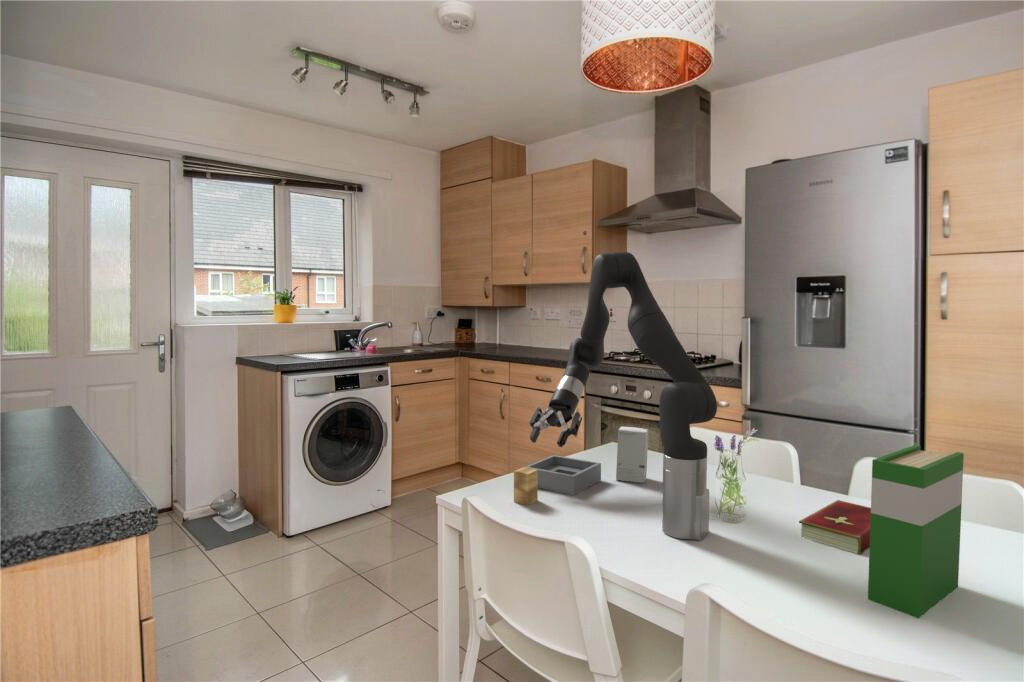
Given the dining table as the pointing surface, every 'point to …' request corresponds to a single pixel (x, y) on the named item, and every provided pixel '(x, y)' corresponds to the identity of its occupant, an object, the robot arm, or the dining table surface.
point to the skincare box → (632, 454)
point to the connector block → (525, 485)
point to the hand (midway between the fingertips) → (545, 443)
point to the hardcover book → (840, 526)
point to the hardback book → (914, 529)
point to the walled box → (566, 474)
